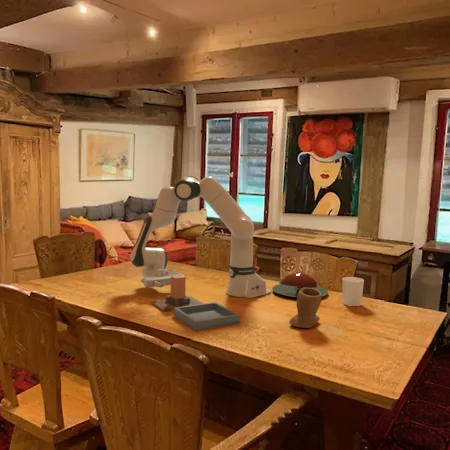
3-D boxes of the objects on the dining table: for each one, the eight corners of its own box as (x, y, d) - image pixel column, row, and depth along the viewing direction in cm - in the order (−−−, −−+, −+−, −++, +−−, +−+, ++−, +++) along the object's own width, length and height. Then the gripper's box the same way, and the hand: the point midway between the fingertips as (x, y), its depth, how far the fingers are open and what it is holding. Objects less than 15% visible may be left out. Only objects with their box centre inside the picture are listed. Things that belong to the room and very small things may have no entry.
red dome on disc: (265, 296, 229) (266, 274, 228) (280, 283, 255) (281, 263, 254) (322, 304, 219) (323, 280, 218) (332, 290, 245) (333, 269, 243)
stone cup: (313, 333, 180) (315, 295, 178) (285, 326, 186) (287, 290, 184) (327, 322, 193) (329, 287, 191) (300, 316, 199) (301, 282, 197)
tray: (215, 309, 206) (215, 301, 206) (239, 323, 189) (239, 314, 188) (174, 315, 196) (174, 307, 196) (195, 330, 179) (195, 322, 178)
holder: (190, 298, 223) (191, 290, 223) (204, 305, 211) (204, 298, 211) (151, 303, 213) (151, 295, 213) (163, 311, 201) (163, 303, 201)
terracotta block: (180, 300, 215) (180, 274, 214) (185, 303, 211) (185, 277, 210) (170, 301, 213) (170, 275, 211) (174, 304, 209) (175, 278, 207)
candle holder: (364, 303, 222) (365, 278, 221) (360, 308, 213) (362, 282, 212) (343, 300, 226) (344, 275, 225) (339, 305, 217) (340, 280, 216)
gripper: (139, 273, 225) (149, 279, 213) (178, 269, 235) (190, 275, 223) (139, 286, 226) (149, 293, 214) (178, 281, 236) (189, 288, 224)
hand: (170, 284), depth 219 cm, fingers open, 8 cm apart
